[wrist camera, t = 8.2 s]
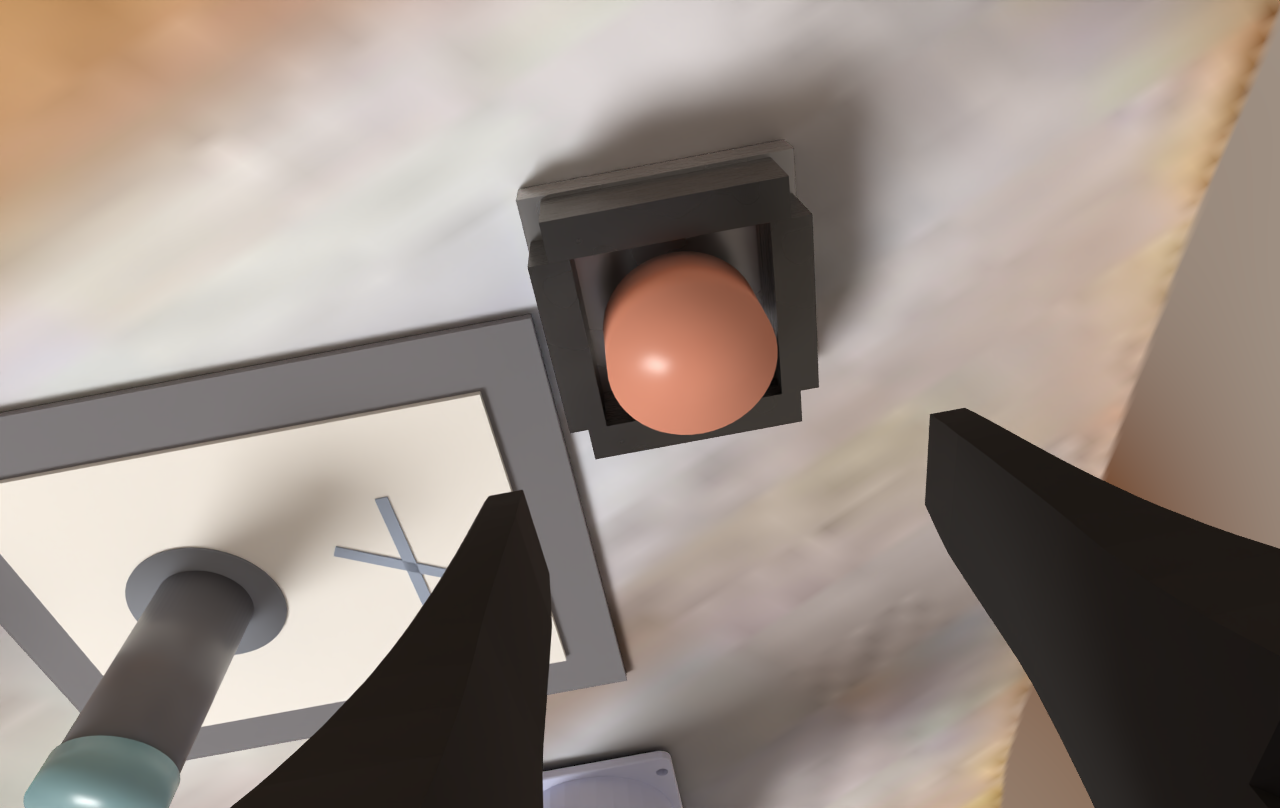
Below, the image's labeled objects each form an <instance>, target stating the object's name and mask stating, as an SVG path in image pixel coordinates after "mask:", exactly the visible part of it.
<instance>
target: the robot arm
mask: <svg viewBox="0 0 1280 808" xmlns="http://www.w3.org/2000/svg"><path fill="white" fill-rule="evenodd" d="M925 505H926V508H927V510H928V512H929V514H930V516H931V519H932V521H933V523H934V525H935V527H936V529H937V532H938V534H939V536H940V538H941V540H942V542H943V544H944V546H945V548H946V550H947V552H948V554H949V555H950V557H951V558H952V560H953V562H954V563H955V565H956V566H957V568H958V569H959V571H960V572H961V574H962V575H963V577H964V579H965V580H966V582H967V583H968V585H969V586H970V588H971V589H972V591H973V592H974V594H975V595H976V597H977V598H978V600H979V601H980V603H981V604H982V606H983V607H984V609H985V610H986V612H987V613H988V615H989V616H990V618H991V619H992V621H993V622H994V624H995V625H996V627H997V628H998V630H999V632H1000V633H1001V635H1002V636H1003V638H1004V639H1005V641H1006V642H1007V644H1008V645H1009V647H1010V648H1011V650H1012V651H1013V653H1014V654H1015V656H1016V657H1017V659H1018V660H1019V662H1020V664H1021V665H1022V667H1023V669H1024V670H1025V672H1026V674H1027V675H1028V677H1029V679H1030V680H1031V682H1032V684H1033V686H1034V688H1035V689H1036V691H1037V693H1038V695H1039V697H1040V699H1041V701H1042V703H1043V705H1044V707H1045V709H1046V710H1047V712H1048V714H1049V716H1050V718H1051V720H1052V722H1053V724H1054V726H1055V728H1056V729H1057V732H1058V733H1059V735H1060V737H1061V739H1062V741H1063V743H1064V745H1065V747H1066V749H1067V752H1068V753H1069V756H1070V758H1071V760H1072V762H1073V764H1074V766H1075V767H1076V770H1077V772H1078V774H1079V776H1080V778H1081V780H1082V782H1083V784H1084V786H1085V788H1086V790H1087V792H1088V794H1089V796H1090V799H1091V801H1092V803H1093V805H1094V807H1095V808H1280V549H1278V548H1276V547H1273V546H1269V545H1266V544H1263V543H1260V542H1257V541H1254V540H1251V539H1247V538H1244V537H1241V536H1238V535H1235V534H1232V533H1229V532H1226V531H1224V530H1221V529H1218V528H1215V527H1212V526H1209V525H1207V524H1204V523H1201V522H1199V521H1196V520H1194V519H1191V518H1189V517H1186V516H1184V515H1181V514H1178V513H1176V512H1173V511H1171V510H1168V509H1166V508H1163V507H1160V506H1158V505H1156V504H1153V503H1151V502H1149V501H1147V500H1144V499H1142V498H1140V497H1137V496H1135V495H1133V494H1131V493H1129V492H1127V491H1124V490H1122V489H1120V488H1118V487H1115V486H1114V485H1111V484H1109V483H1107V482H1105V481H1103V480H1101V479H1099V478H1097V477H1095V476H1093V475H1091V474H1089V473H1087V472H1085V471H1083V470H1081V469H1079V468H1077V467H1075V466H1073V465H1071V464H1069V463H1067V462H1065V461H1063V460H1061V459H1059V458H1057V457H1055V456H1054V455H1052V454H1050V453H1048V452H1046V451H1044V450H1042V449H1041V448H1039V447H1037V446H1035V445H1033V444H1031V443H1030V442H1028V441H1026V440H1024V439H1022V438H1020V437H1019V436H1017V435H1015V434H1013V433H1011V432H1010V431H1008V430H1006V429H1004V428H1002V427H1001V426H999V425H997V424H995V423H993V422H991V421H990V420H988V419H986V418H984V417H982V416H980V415H978V414H976V413H974V412H972V411H970V410H968V409H966V408H961V409H956V410H951V411H945V412H940V413H934V414H930V425H929V443H928V461H927V479H926V497H925ZM551 635H552V612H551V591H550V574H549V570H548V567H547V564H546V561H545V558H544V555H543V551H542V548H541V545H540V542H539V539H538V536H537V532H536V529H535V526H534V523H533V520H532V517H531V514H530V510H529V507H528V504H527V501H526V498H525V495H524V491H523V490H518V491H513V492H507V493H502V494H496V495H491V496H488V498H487V499H486V500H485V502H484V504H483V505H482V507H481V509H480V511H479V513H478V515H477V516H476V518H475V520H474V522H473V524H472V526H471V527H470V529H469V531H468V533H467V535H466V536H465V538H464V540H463V542H462V543H461V545H460V547H459V549H458V550H457V552H456V554H455V556H454V557H453V559H452V560H451V562H450V564H449V565H448V567H447V569H446V570H445V572H444V574H443V575H442V577H441V579H440V580H439V582H438V583H437V585H436V587H435V588H434V590H433V591H432V593H431V594H430V596H429V597H428V599H427V600H426V602H425V603H424V604H423V606H422V607H421V609H420V610H419V612H418V613H417V615H416V616H415V618H414V619H413V621H412V622H411V623H410V625H409V626H408V628H407V629H406V630H405V632H404V633H403V634H402V636H401V637H400V638H399V640H398V641H397V642H396V644H395V645H394V646H393V648H392V649H391V650H390V651H389V653H388V654H387V655H386V657H385V658H384V659H383V660H382V661H381V663H380V664H379V665H378V666H377V668H376V669H375V670H374V671H373V672H372V674H371V675H370V676H369V677H368V678H367V679H366V681H365V682H364V683H363V684H362V685H361V686H360V687H359V688H358V689H357V690H356V691H355V692H354V693H353V694H352V695H351V696H350V698H349V699H348V700H347V701H346V702H345V703H344V704H343V705H342V706H341V707H340V708H339V709H338V710H337V711H336V712H335V713H334V715H333V716H332V717H331V718H330V719H329V720H328V721H327V722H326V723H325V724H324V725H323V726H322V727H321V728H320V729H319V730H318V731H317V732H316V733H315V734H314V735H313V736H312V737H311V738H310V739H309V740H307V741H306V742H305V743H304V744H303V745H302V746H301V747H300V748H299V749H298V750H297V751H296V752H295V753H294V754H293V755H291V756H290V757H289V758H288V759H287V760H286V761H285V762H284V763H283V764H281V765H280V766H279V767H278V768H277V769H276V770H275V771H274V772H273V773H271V774H270V775H269V776H268V777H267V778H266V779H264V780H263V781H262V782H261V783H260V784H259V785H258V786H256V787H255V788H254V789H253V790H252V791H250V792H249V793H248V794H247V795H245V796H244V797H243V798H242V799H240V800H239V801H238V802H237V803H235V804H234V805H233V806H232V807H230V808H683V806H682V802H681V797H680V793H679V789H678V785H677V781H676V776H675V772H674V768H673V764H672V759H671V756H670V754H669V753H667V752H666V751H655V752H649V753H644V754H638V755H632V756H627V757H621V758H616V759H610V760H605V761H599V762H594V763H588V764H582V765H577V766H571V767H566V768H560V769H555V770H549V771H544V772H543V743H544V729H545V716H546V703H547V690H548V677H549V664H550V649H551Z"/></svg>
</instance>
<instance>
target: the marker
mask: <svg viewBox="0 0 1280 808" xmlns="http://www.w3.org/2000/svg"><path fill="white" fill-rule="evenodd" d="M253 611H254V606H253V602H252V599H251V597H250V595H249V594H248V593H247V591H246V590H245V589H244V588H243V587H242V586H240V585H239V584H238V583H236V582H235V581H233V580H231V579H230V578H227V577H225V576H223V575H220V574H217V573H212V572H207V571H185V572H180V573H177V574H174V575H172V576H170V577H168V578H167V579H165V580H164V581H163V582H162V583H161V585H160V586H159V588H158V589H157V591H156V593H155V594H154V596H153V597H152V599H151V601H150V602H149V604H148V605H147V607H146V609H145V610H144V612H143V613H142V615H141V617H140V618H139V620H138V621H137V623H136V625H135V626H134V628H133V629H132V631H131V633H130V634H129V636H128V638H127V639H126V641H125V642H124V644H123V646H122V647H121V649H120V650H119V652H118V654H117V655H116V657H115V658H114V660H113V662H112V663H111V665H110V666H109V668H108V670H107V671H106V673H105V674H104V676H103V678H102V679H101V681H100V682H99V684H98V686H97V687H96V689H95V690H94V692H93V694H92V695H91V697H90V698H89V700H88V702H87V703H86V705H85V706H84V708H83V710H82V711H81V713H80V714H79V716H78V718H77V719H76V721H75V722H74V724H73V726H72V727H71V729H70V731H69V732H68V734H67V735H66V737H65V739H64V740H63V742H62V743H61V744H60V745H59V746H57V747H56V748H55V749H54V750H53V751H52V752H51V753H50V755H49V756H48V758H47V759H46V761H45V763H44V764H43V766H42V767H41V769H40V771H39V772H38V774H37V775H36V777H35V779H34V780H33V782H32V783H31V785H30V786H29V788H28V790H27V791H26V793H25V796H24V807H25V808H169V806H170V804H171V801H172V799H173V797H174V795H175V792H176V790H177V788H178V786H179V783H180V772H181V770H182V768H183V766H184V764H185V761H186V759H187V757H188V755H189V753H190V750H191V748H192V746H193V744H194V742H195V740H196V737H197V735H198V733H199V731H200V729H201V726H202V724H203V722H204V720H205V718H206V716H207V713H208V711H209V709H210V707H211V705H212V703H213V700H214V698H215V696H216V694H217V692H218V689H219V687H220V685H221V683H222V681H223V679H224V676H225V674H226V672H227V670H228V668H229V665H230V663H231V661H232V659H233V657H234V655H235V652H236V650H237V648H238V646H239V644H240V642H241V639H242V637H243V635H244V633H245V631H246V628H247V626H248V624H249V622H250V620H251V618H252V615H253Z"/></svg>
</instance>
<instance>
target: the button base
mask: <svg viewBox="0 0 1280 808" xmlns="http://www.w3.org/2000/svg"><path fill="white" fill-rule="evenodd" d="M516 202H517V206H518V210H519V214H520V218H521V222H522V226H523V230H524V234H525V238H526V242H527V246H528V250H529V260H528V271H529V275H530V279H531V283H532V286H533V290H534V294H535V298H536V302H537V306H538V310H539V314H540V318H541V321H542V325H543V329H544V333H545V337H546V341H547V345H548V349H549V353H550V356H551V360H552V364H553V368H554V372H555V376H556V380H557V384H558V387H559V391H560V395H561V399H562V403H563V407H564V411H565V415H566V419H567V422H568V426H569V430H570V433H574V432H579V431H585V430H589V434H590V438H591V442H592V447H593V451H594V455H595V459H600V458H605V457H611V456H616V455H621V454H627V453H632V452H638V451H643V450H649V449H654V448H659V447H665V446H670V445H676V444H681V443H687V442H692V441H697V440H703V439H708V438H714V437H719V436H725V435H730V434H735V433H741V432H746V431H752V430H757V429H763V428H768V427H773V426H779V425H784V424H790V423H795V422H801V421H802V410H801V390H807V389H812V388H818V387H819V379H818V353H817V327H816V300H815V274H814V248H813V222H812V214H811V212H810V211H809V210H808V209H807V208H806V207H805V206H804V205H803V204H802V203H801V202H800V201H799V200H798V199H797V197H796V181H795V161H794V148H793V147H792V146H791V145H790V144H788V143H787V142H786V141H785V140H784V139H783V140H778V141H772V142H767V143H762V144H756V145H751V146H746V147H740V148H735V149H730V150H725V151H719V152H714V153H709V154H703V155H698V156H693V157H687V158H682V159H677V160H671V161H666V162H661V163H655V164H650V165H645V166H639V167H634V168H629V169H624V170H618V171H613V172H608V173H602V174H597V175H592V176H586V177H581V178H576V179H570V180H565V181H560V182H554V183H549V184H544V185H538V186H533V187H528V188H523V189H518V192H517V198H516ZM679 251H694V252H701V253H705V254H709V255H713V256H715V257H717V258H720V259H722V260H724V261H725V262H727V263H729V264H731V265H732V266H733V267H734V268H735V269H737V270H738V271H739V272H740V273H741V274H742V275H743V276H744V278H745V279H746V280H747V282H748V283H749V285H750V286H751V288H752V290H753V292H754V294H755V295H756V297H757V299H758V301H759V303H760V305H761V306H762V308H763V310H764V312H765V314H766V315H767V317H768V319H769V321H770V323H771V325H772V327H773V330H774V333H775V336H776V341H777V364H776V369H775V372H774V376H773V378H772V381H771V383H770V385H769V387H768V389H767V390H766V392H765V394H764V395H763V396H762V398H761V399H760V400H759V402H758V403H757V404H756V405H755V406H754V407H753V408H752V409H751V410H750V411H749V412H747V413H746V414H745V415H743V416H742V417H741V418H739V419H738V420H736V421H734V422H733V423H731V424H729V425H727V426H724V427H722V428H719V429H717V430H714V431H710V432H706V433H701V434H693V435H678V434H670V433H665V432H660V431H657V430H654V429H652V428H649V427H647V426H645V425H643V424H641V423H640V422H638V421H637V420H635V419H634V418H633V417H632V416H630V415H629V414H628V413H627V412H626V411H625V410H624V409H623V408H622V406H621V405H620V404H619V402H618V401H617V399H616V398H615V396H614V394H613V391H612V389H611V386H610V383H609V380H608V373H607V364H606V355H605V345H604V336H603V320H604V313H605V310H606V306H607V303H608V301H609V299H610V297H611V294H612V293H613V291H614V290H615V288H616V287H617V285H618V284H619V283H620V282H621V280H622V279H623V278H624V277H625V276H626V275H627V274H628V273H629V272H630V271H631V270H633V269H634V268H636V267H637V266H639V265H640V264H642V263H644V262H645V261H647V260H649V259H651V258H654V257H657V256H659V255H663V254H667V253H671V252H679Z"/></svg>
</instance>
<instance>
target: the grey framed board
mask: <svg viewBox="0 0 1280 808" xmlns="http://www.w3.org/2000/svg"><path fill="white" fill-rule="evenodd" d="M518 490H523V491H524V495H525V498H526V501H527V504H528V507H529V510H530V514H531V517H532V520H533V523H534V526H535V529H536V532H537V536H538V539H539V542H540V545H541V548H542V551H543V555H544V558H545V561H546V564H547V567H548V570H549V574H550V591H551V612H552V635H551V649H550V664H549V677H548V690H547V695H550V694H555V693H561V692H566V691H572V690H577V689H583V688H588V687H594V686H599V685H605V684H610V683H616V682H621V681H627V677H626V671H625V668H624V664H623V660H622V656H621V652H620V649H619V645H618V641H617V637H616V633H615V630H614V626H613V622H612V618H611V615H610V611H609V607H608V603H607V599H606V596H605V592H604V588H603V584H602V580H601V577H600V573H599V569H598V565H597V562H596V558H595V554H594V550H593V546H592V543H591V539H590V535H589V531H588V527H587V524H586V520H585V516H584V512H583V508H582V505H581V501H580V497H579V493H578V490H577V486H576V482H575V478H574V474H573V471H572V467H571V463H570V459H569V455H568V452H567V448H566V444H565V440H564V437H563V433H562V429H561V425H560V421H559V418H558V414H557V410H556V406H555V402H554V399H553V395H552V391H551V387H550V384H549V380H548V376H547V372H546V368H545V365H544V361H543V357H542V353H541V349H540V346H539V342H538V338H537V334H536V330H535V327H534V323H533V319H532V315H531V314H528V315H522V316H517V317H512V318H506V319H501V320H495V321H490V322H485V323H479V324H474V325H469V326H463V327H458V328H452V329H447V330H442V331H436V332H431V333H426V334H420V335H415V336H410V337H404V338H399V339H393V340H388V341H383V342H377V343H372V344H367V345H361V346H356V347H351V348H345V349H340V350H334V351H329V352H324V353H318V354H313V355H308V356H302V357H297V358H292V359H286V360H281V361H275V362H270V363H265V364H259V365H254V366H249V367H243V368H238V369H232V370H227V371H222V372H216V373H211V374H206V375H200V376H195V377H190V378H184V379H179V380H173V381H168V382H163V383H157V384H152V385H147V386H141V387H136V388H131V389H125V390H120V391H114V392H109V393H104V394H98V395H93V396H88V397H82V398H77V399H72V400H66V401H61V402H55V403H50V404H45V405H39V406H34V407H29V408H23V409H18V410H12V411H7V412H2V413H0V625H1V626H2V627H3V628H4V629H5V630H6V631H7V632H8V634H9V635H10V636H11V637H12V638H13V639H14V640H15V641H16V642H17V643H18V645H19V646H20V647H21V648H22V649H23V650H24V651H25V652H26V653H27V654H28V656H29V657H30V658H31V659H32V660H33V661H34V662H35V663H36V664H37V665H38V667H39V668H40V669H41V670H42V671H43V672H44V673H45V674H46V675H47V676H48V678H49V679H50V680H51V681H52V682H53V683H54V684H55V685H56V686H57V687H58V689H59V690H60V691H61V692H62V693H63V694H64V695H65V696H66V697H67V698H68V700H69V701H70V702H71V703H72V704H73V705H74V706H75V707H76V708H77V709H78V711H79V712H80V713H81V711H82V710H83V708H84V706H85V705H86V703H87V702H88V700H89V698H90V697H91V695H92V694H93V692H94V690H95V689H96V687H97V686H98V684H99V682H100V681H101V679H102V678H103V676H104V674H105V673H106V671H107V670H108V668H109V666H110V665H111V663H112V662H113V660H114V658H115V657H116V655H117V654H118V652H119V650H120V649H121V647H122V646H123V644H124V642H125V641H126V639H127V638H128V636H129V634H130V633H131V631H132V629H133V628H134V626H135V625H136V623H137V621H138V620H139V618H140V617H141V615H142V613H143V612H144V610H145V609H146V607H147V605H148V604H149V602H150V601H151V599H152V597H153V596H154V594H155V593H156V591H157V589H158V588H159V586H160V585H161V583H162V582H163V581H164V580H165V579H167V578H168V577H170V576H172V575H174V574H177V573H180V572H185V571H207V572H212V573H217V574H220V575H223V576H225V577H227V578H230V579H231V580H233V581H235V582H236V583H238V584H239V585H240V586H242V587H243V588H244V589H245V590H246V591H247V593H248V594H249V595H250V597H251V599H252V602H253V606H254V611H253V615H252V618H251V620H250V622H249V624H248V626H247V628H246V631H245V633H244V635H243V637H242V639H241V642H240V644H239V646H238V648H237V650H236V652H235V655H234V657H233V659H232V661H231V663H230V665H229V668H228V670H227V672H226V674H225V676H224V679H223V681H222V683H221V685H220V687H219V689H218V692H217V694H216V696H215V698H214V700H213V703H212V705H211V707H210V709H209V711H208V713H207V716H206V718H205V720H204V722H203V724H202V726H201V729H200V731H199V733H198V735H197V737H196V740H195V742H194V744H193V746H192V748H191V750H190V753H189V755H188V757H187V759H186V760H191V759H196V758H202V757H207V756H213V755H218V754H224V753H229V752H235V751H240V750H246V749H251V748H257V747H262V746H268V745H273V744H279V743H285V742H290V741H296V740H301V739H307V738H311V737H312V736H313V735H314V734H315V733H316V732H317V731H318V730H319V729H320V728H321V727H322V726H323V725H324V724H325V723H326V722H327V721H328V720H329V719H330V718H331V717H332V716H333V715H334V713H335V712H336V711H337V710H338V709H339V708H340V707H341V706H342V705H343V704H344V703H345V702H346V701H347V700H348V699H349V698H350V696H351V695H352V694H353V693H354V692H355V691H356V690H357V689H358V688H359V687H360V686H361V685H362V684H363V683H364V682H365V681H366V679H367V678H368V677H369V676H370V675H371V674H372V672H373V671H374V670H375V669H376V668H377V666H378V665H379V664H380V663H381V661H382V660H383V659H384V658H385V657H386V655H387V654H388V653H389V651H390V650H391V649H392V648H393V646H394V645H395V644H396V642H397V641H398V640H399V638H400V637H401V636H402V634H403V633H404V632H405V630H406V629H407V628H408V626H409V625H410V623H411V622H412V621H413V619H414V618H415V616H416V615H417V613H418V612H419V610H420V609H421V607H422V606H423V604H424V603H425V602H426V600H427V599H428V597H429V596H430V594H431V593H432V591H433V590H434V588H435V587H436V585H437V583H438V582H439V580H440V579H441V577H442V575H443V574H444V572H445V570H446V569H447V567H448V565H449V564H450V562H451V560H452V559H453V557H454V556H455V554H456V552H457V550H458V549H459V547H460V545H461V543H462V542H463V540H464V538H465V536H466V535H467V533H468V531H469V529H470V527H471V526H472V524H473V522H474V520H475V518H476V516H477V515H478V513H479V511H480V509H481V507H482V505H483V504H484V502H485V500H486V499H487V498H488V496H491V495H496V494H502V493H507V492H513V491H518Z"/></svg>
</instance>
